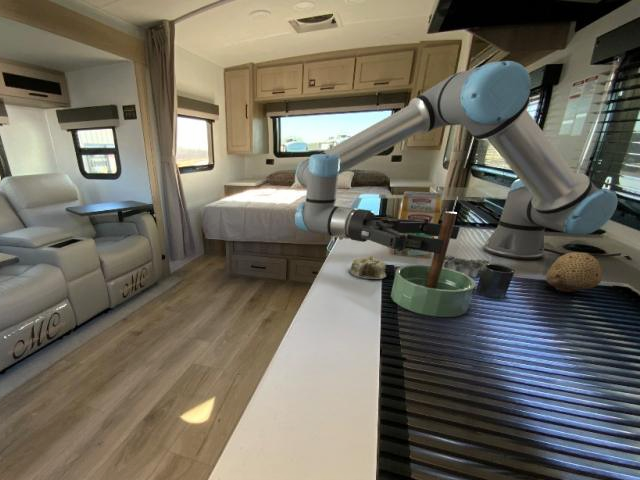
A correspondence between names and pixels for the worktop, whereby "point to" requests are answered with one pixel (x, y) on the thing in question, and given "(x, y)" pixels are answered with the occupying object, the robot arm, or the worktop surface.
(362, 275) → the cake
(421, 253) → the yellow food carton
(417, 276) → the bowl
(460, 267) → the egg carton
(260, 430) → the worktop surface
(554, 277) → the natural sponge
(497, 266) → the utensil cup
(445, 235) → the stick
